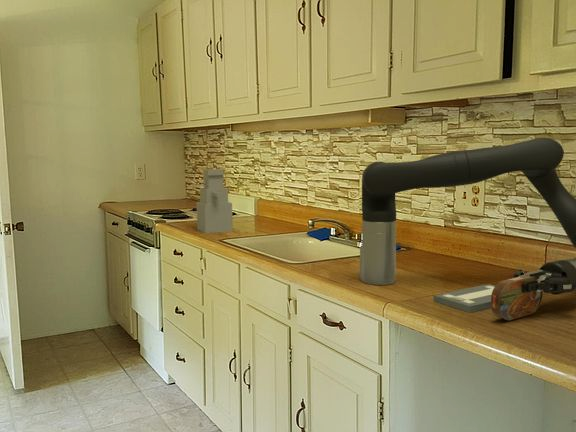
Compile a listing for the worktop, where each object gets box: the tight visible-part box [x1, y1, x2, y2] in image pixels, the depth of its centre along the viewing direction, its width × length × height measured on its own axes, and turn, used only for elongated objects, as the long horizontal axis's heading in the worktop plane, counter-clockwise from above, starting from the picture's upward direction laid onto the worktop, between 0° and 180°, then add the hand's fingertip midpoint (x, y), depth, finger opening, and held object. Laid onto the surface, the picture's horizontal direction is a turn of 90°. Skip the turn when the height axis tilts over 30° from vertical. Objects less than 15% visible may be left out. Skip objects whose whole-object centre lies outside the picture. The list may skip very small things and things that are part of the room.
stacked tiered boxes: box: [196, 168, 234, 234], centre depth 250 cm, size 13×24×28 cm, turn 26°
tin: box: [490, 276, 544, 321], centre depth 118 cm, size 15×3×8 cm, turn 122°
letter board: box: [433, 283, 496, 314], centre depth 132 cm, size 11×20×2 cm, turn 121°
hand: (517, 286), depth 118 cm, fingers closed on tin, 2 cm apart
